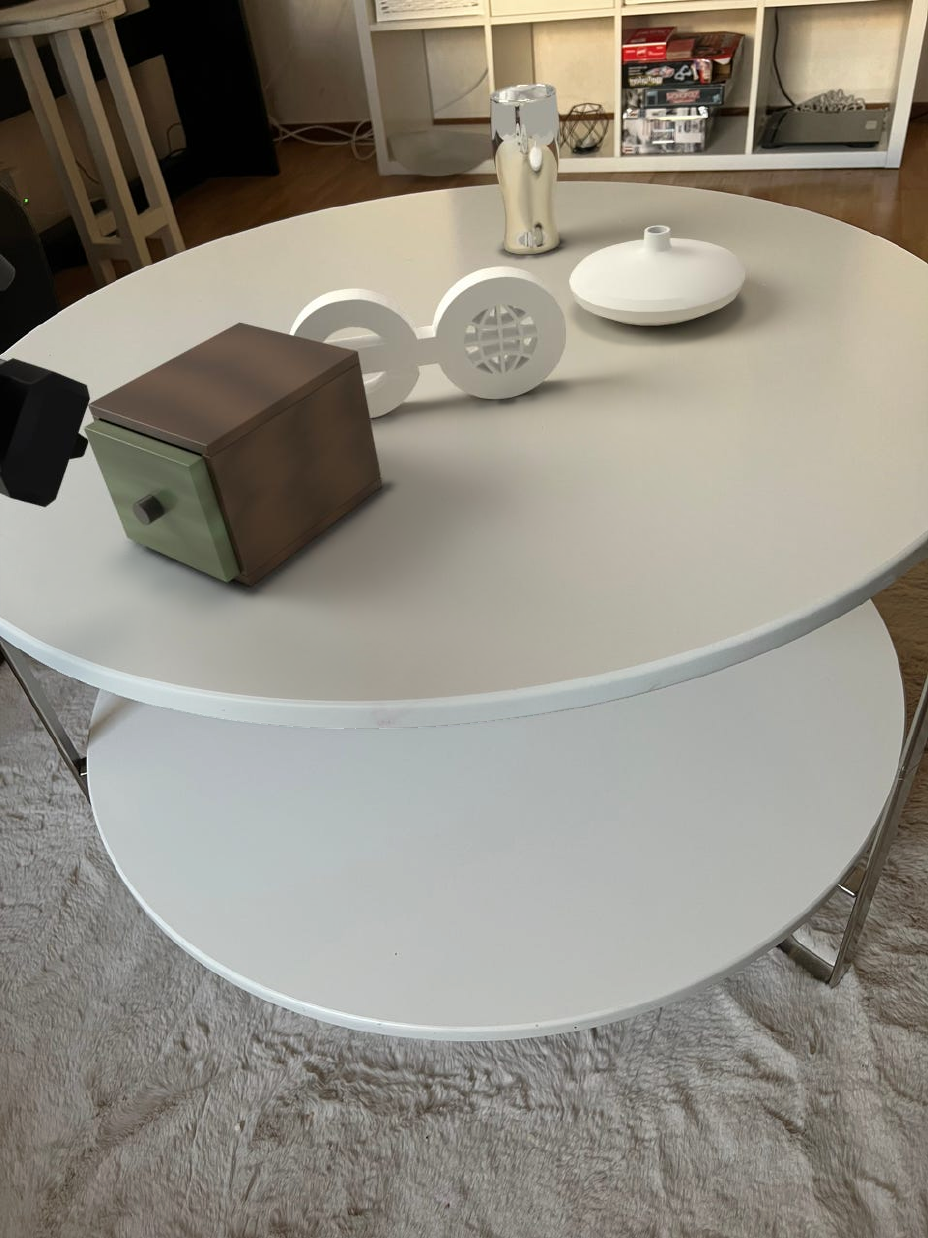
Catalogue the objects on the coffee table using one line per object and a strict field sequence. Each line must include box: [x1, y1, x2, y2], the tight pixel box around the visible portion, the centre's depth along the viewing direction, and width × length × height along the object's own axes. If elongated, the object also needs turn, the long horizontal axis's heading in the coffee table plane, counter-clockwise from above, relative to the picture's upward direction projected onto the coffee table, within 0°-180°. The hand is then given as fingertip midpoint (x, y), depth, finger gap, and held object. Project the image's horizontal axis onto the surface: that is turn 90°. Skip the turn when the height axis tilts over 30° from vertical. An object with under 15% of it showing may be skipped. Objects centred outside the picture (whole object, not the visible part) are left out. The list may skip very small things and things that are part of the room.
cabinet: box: [87, 322, 383, 587], centre depth 68 cm, size 14×12×11 cm
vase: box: [568, 225, 746, 326], centre depth 88 cm, size 16×16×7 cm
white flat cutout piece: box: [289, 265, 567, 419], centre depth 78 cm, size 22×2×10 cm, turn 97°
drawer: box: [83, 420, 240, 583], centre depth 66 cm, size 14×10×9 cm
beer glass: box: [489, 83, 561, 256], centre depth 101 cm, size 7×7×15 cm
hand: (82, 447), depth 57 cm, fingers closed
